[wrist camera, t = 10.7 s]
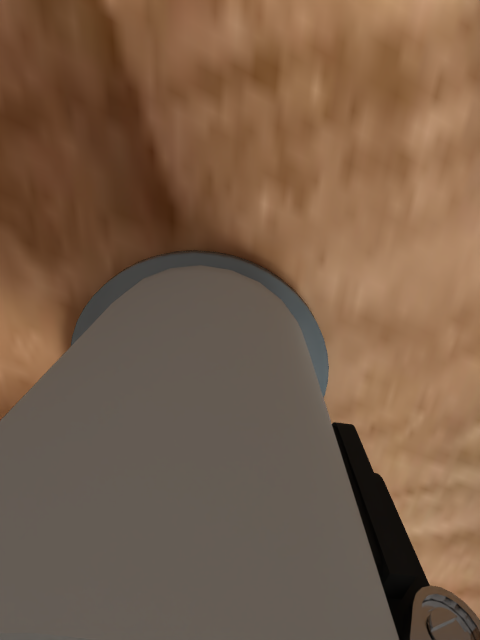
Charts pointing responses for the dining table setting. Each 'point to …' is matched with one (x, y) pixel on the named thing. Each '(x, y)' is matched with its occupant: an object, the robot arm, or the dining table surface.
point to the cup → (183, 480)
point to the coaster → (217, 260)
